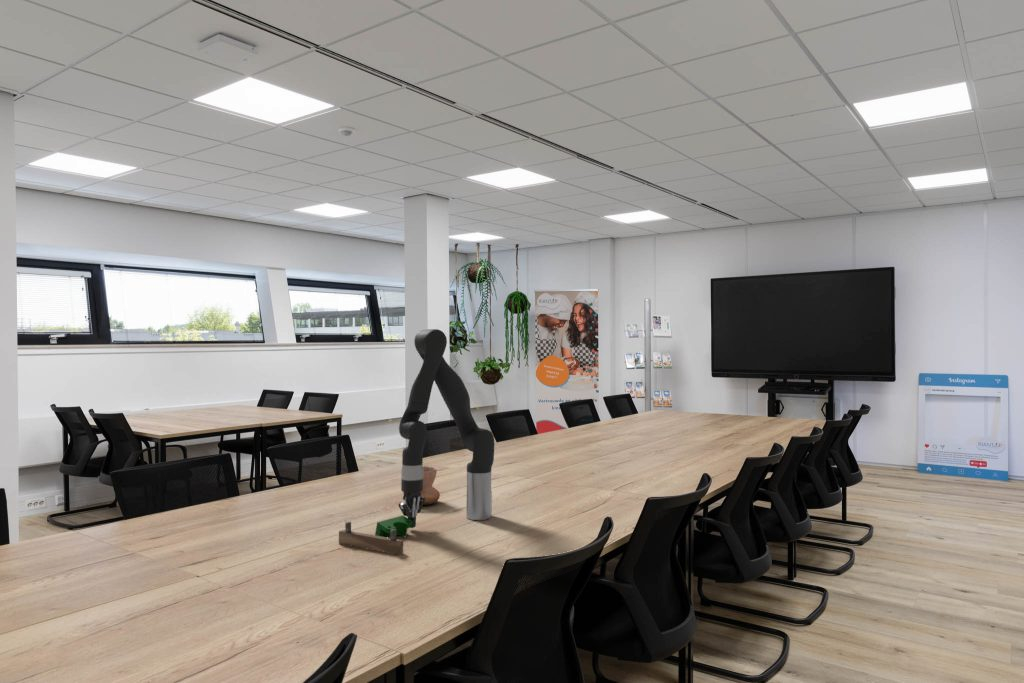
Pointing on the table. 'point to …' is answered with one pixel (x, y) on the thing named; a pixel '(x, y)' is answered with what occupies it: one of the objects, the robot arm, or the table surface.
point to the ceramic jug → (429, 485)
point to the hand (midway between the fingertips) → (411, 527)
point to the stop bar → (371, 540)
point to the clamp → (393, 526)
